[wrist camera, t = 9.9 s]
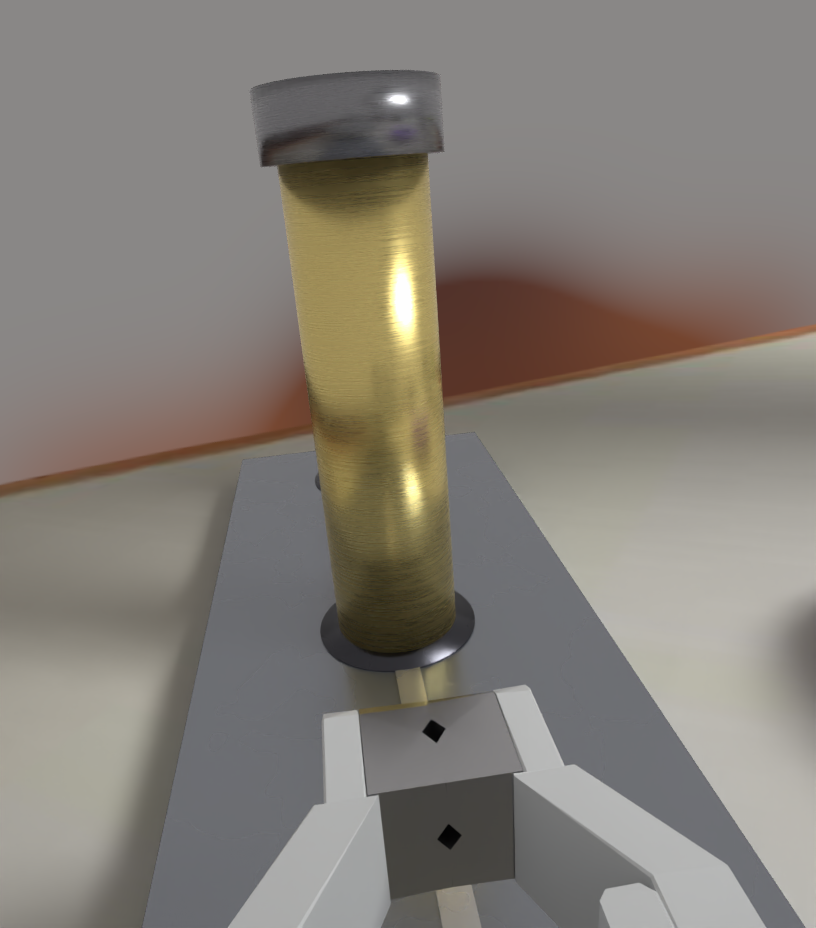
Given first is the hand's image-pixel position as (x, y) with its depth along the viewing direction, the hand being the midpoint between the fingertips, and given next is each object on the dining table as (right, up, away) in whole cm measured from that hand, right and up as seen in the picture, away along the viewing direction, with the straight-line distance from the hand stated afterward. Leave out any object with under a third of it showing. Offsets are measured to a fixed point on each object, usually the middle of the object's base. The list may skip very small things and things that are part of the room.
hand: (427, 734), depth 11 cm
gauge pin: (-1, -1, +12) cm, 12 cm away
